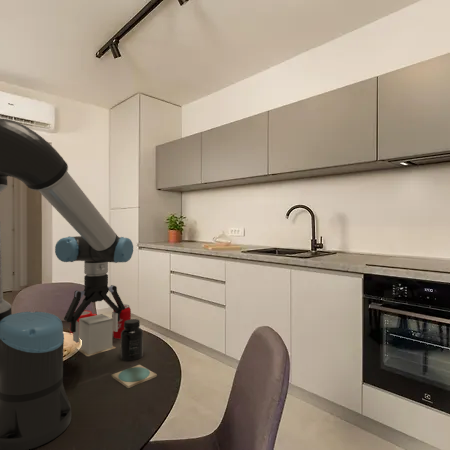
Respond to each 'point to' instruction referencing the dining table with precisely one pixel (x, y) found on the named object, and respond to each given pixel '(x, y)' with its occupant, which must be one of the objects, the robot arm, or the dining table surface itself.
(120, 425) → the dining table surface
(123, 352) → the supplement bottle
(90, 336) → the grey box
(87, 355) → the board
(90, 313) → the mug
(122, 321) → the beverage can
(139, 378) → the board
